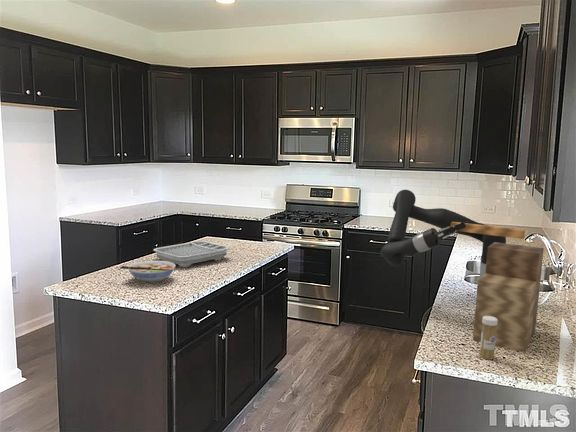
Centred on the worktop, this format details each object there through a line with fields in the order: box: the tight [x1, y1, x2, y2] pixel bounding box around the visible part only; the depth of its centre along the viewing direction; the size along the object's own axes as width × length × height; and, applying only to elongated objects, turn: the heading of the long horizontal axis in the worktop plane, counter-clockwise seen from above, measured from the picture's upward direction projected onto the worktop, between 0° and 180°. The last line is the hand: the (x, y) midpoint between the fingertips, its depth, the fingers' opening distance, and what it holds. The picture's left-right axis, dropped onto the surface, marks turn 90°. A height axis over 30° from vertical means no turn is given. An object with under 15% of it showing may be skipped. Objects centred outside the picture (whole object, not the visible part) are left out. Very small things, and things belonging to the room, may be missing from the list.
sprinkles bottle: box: [478, 316, 498, 360], centre depth 154 cm, size 5×5×14 cm
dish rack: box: [153, 240, 230, 268], centre depth 276 cm, size 32×37×8 cm
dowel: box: [451, 222, 526, 240], centre depth 180 cm, size 26×3×3 cm, turn 56°
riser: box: [472, 242, 545, 353], centre depth 172 cm, size 17×24×32 cm
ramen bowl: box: [119, 260, 177, 284], centre depth 232 cm, size 25×23×8 cm
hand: (466, 223), depth 184 cm, fingers closed on dowel, 3 cm apart
